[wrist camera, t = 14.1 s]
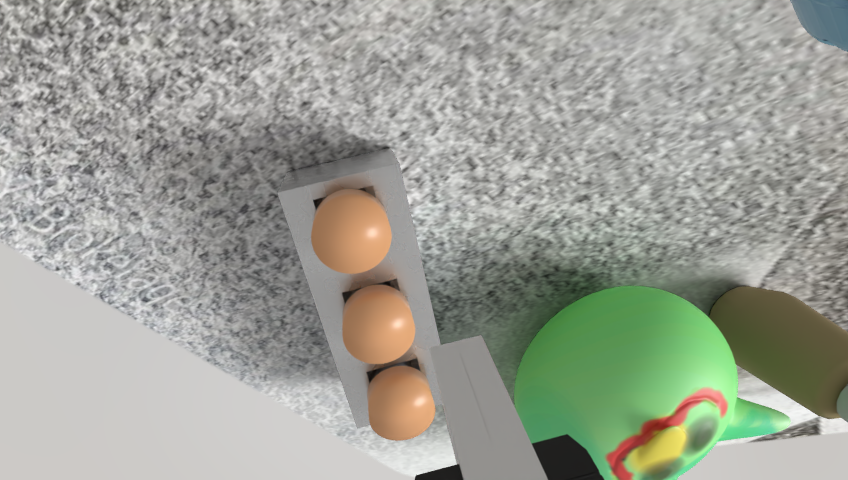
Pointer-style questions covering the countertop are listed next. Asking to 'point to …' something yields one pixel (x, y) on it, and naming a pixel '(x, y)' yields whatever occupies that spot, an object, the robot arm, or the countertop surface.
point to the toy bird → (636, 384)
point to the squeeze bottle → (787, 347)
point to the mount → (398, 267)
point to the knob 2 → (400, 402)
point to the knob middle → (377, 324)
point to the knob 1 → (351, 231)
